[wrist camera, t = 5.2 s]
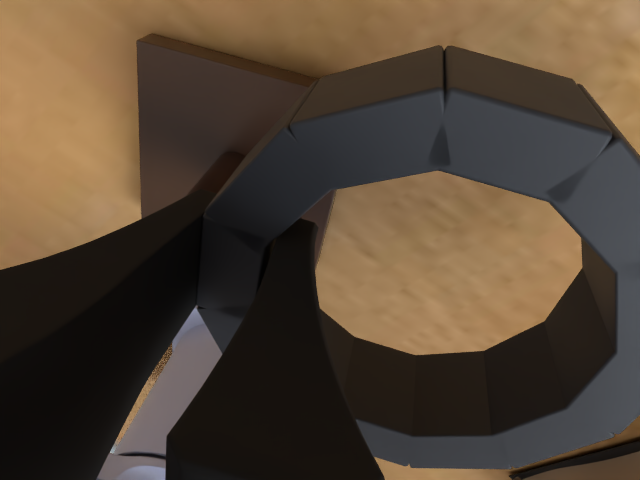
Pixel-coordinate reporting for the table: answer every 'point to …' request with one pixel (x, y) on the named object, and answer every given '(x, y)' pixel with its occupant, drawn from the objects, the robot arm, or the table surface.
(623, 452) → the dark grey book
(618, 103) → the table surface
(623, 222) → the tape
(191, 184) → the brown peg stand
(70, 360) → the robot arm
